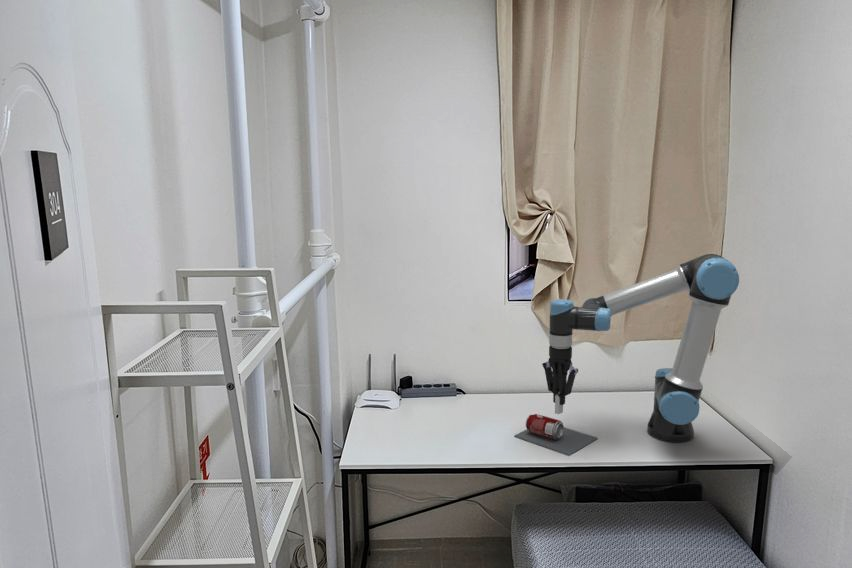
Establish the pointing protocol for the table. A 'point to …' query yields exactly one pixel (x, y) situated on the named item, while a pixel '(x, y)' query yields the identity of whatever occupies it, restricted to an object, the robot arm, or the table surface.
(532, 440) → the rubber mat
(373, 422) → the table surface
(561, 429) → the soda can
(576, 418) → the table surface
